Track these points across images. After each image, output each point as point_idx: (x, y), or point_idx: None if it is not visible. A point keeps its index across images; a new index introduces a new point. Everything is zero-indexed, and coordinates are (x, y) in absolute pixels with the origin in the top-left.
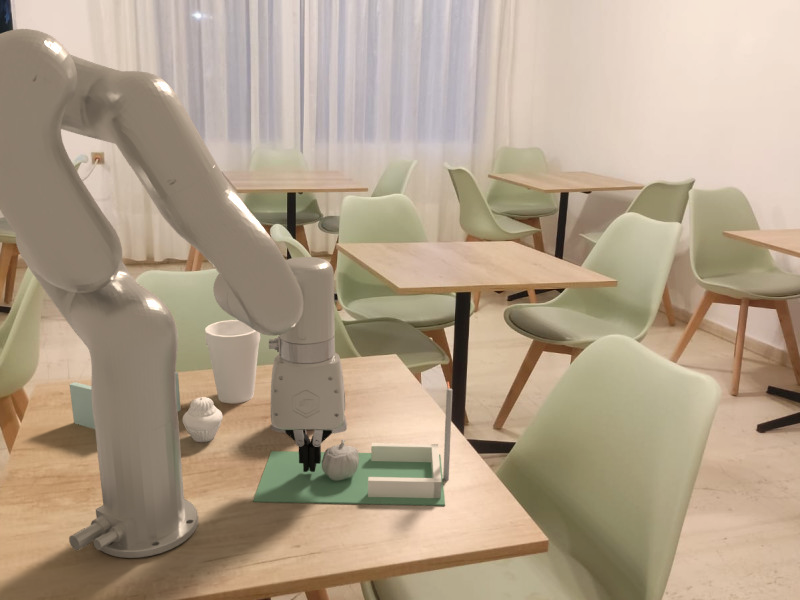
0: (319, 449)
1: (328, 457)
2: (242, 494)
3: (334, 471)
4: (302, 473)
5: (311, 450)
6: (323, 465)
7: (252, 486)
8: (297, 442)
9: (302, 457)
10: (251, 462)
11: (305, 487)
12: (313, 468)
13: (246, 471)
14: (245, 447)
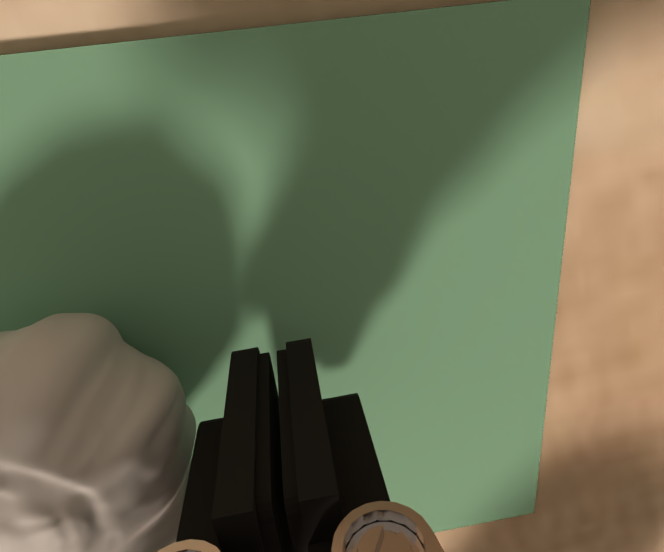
0: (180, 525)
1: (77, 454)
2: (655, 86)
3: (20, 334)
4: (332, 370)
5: (241, 484)
6: (150, 391)
7: (599, 192)
8: (416, 546)
9: (337, 427)
10: (616, 413)
11: (268, 226)
12: (236, 362)
13: (638, 334)
14: (648, 512)
